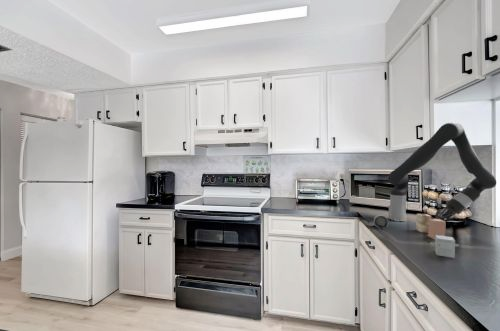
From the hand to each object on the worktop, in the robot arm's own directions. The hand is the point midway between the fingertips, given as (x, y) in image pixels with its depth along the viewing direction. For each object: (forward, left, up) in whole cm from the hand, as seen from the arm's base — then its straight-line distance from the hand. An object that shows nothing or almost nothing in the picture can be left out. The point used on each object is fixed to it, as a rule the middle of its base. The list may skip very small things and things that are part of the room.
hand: (432, 224), depth 136 cm
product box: (+24, -25, -6) cm, 35 cm away
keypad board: (+4, -7, -5) cm, 9 cm away
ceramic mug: (-20, -17, -6) cm, 27 cm away
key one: (-2, -4, -4) cm, 6 cm away
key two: (+9, -10, -4) cm, 14 cm away
